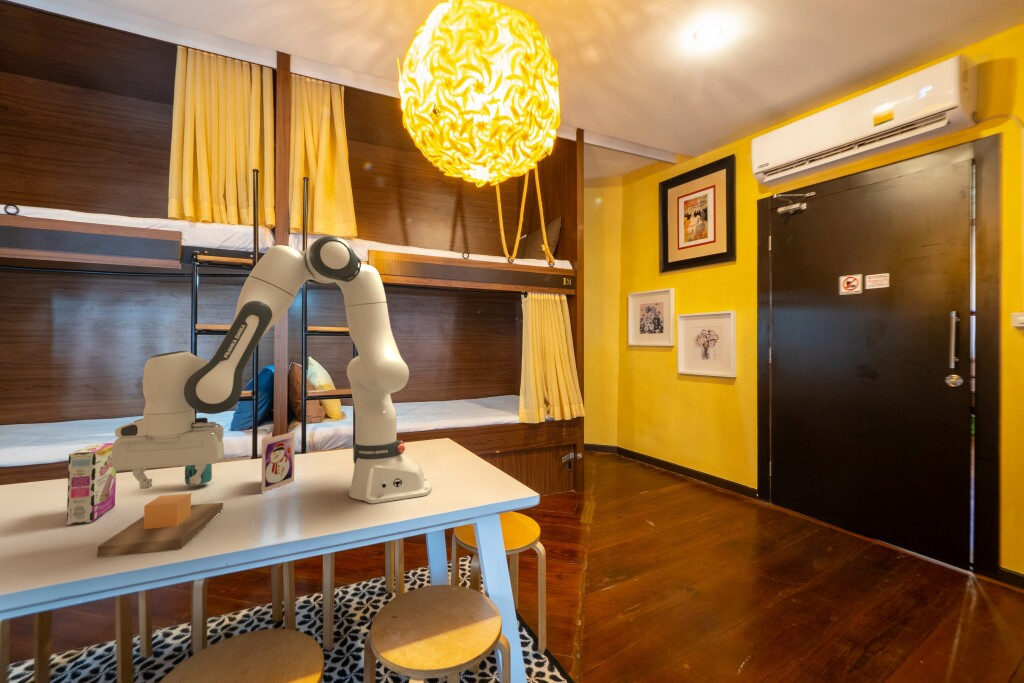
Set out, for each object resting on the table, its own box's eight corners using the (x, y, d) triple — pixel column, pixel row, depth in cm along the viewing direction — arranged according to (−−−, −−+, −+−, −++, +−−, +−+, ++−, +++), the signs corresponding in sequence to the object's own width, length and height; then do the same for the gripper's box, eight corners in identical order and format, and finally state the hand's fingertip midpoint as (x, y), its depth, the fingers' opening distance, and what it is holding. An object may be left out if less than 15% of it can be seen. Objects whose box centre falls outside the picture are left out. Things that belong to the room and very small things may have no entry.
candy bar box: (94, 523, 97) (95, 451, 97) (65, 526, 95) (66, 454, 95) (117, 505, 107) (118, 441, 107) (91, 508, 105) (92, 443, 105)
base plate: (222, 510, 104) (223, 502, 104) (181, 548, 85) (181, 538, 85) (156, 515, 101) (156, 507, 101) (97, 557, 81) (97, 546, 81)
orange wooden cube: (190, 515, 96) (190, 493, 96) (176, 526, 90) (177, 503, 91) (160, 517, 95) (160, 495, 95) (143, 529, 89) (144, 505, 89)
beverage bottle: (207, 481, 126) (208, 415, 126) (216, 486, 122) (216, 417, 122) (180, 487, 120) (181, 418, 120) (189, 492, 116) (189, 420, 117)
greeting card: (264, 494, 116) (264, 439, 116) (243, 491, 118) (243, 438, 118) (296, 481, 126) (296, 431, 127) (277, 478, 129) (277, 430, 129)
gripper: (228, 418, 99) (229, 477, 99) (125, 424, 94) (126, 485, 94) (217, 424, 92) (218, 486, 93) (105, 429, 87) (106, 495, 88)
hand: (170, 486), depth 93 cm, fingers open, 8 cm apart
